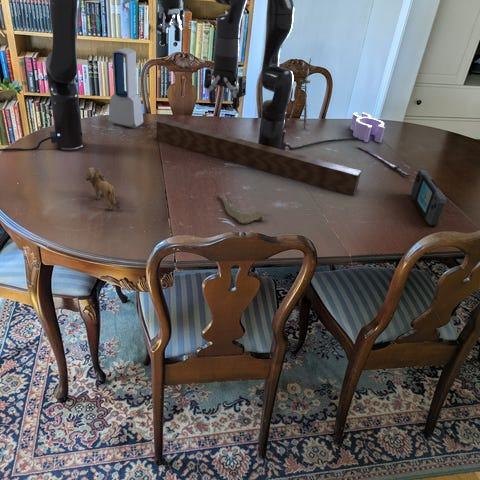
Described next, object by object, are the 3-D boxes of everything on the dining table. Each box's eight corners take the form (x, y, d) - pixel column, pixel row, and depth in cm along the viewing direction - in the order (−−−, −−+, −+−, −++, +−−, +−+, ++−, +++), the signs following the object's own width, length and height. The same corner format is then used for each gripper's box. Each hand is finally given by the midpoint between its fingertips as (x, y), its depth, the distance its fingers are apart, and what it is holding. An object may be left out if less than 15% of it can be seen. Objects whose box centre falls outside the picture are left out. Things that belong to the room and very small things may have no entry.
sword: (412, 176, 179) (413, 173, 178) (406, 177, 178) (407, 174, 177) (361, 148, 202) (362, 145, 201) (356, 149, 201) (356, 146, 200)
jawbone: (251, 231, 136) (251, 225, 134) (200, 206, 146) (200, 200, 145) (270, 218, 141) (270, 213, 140) (219, 195, 152) (219, 189, 150)
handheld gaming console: (409, 194, 166) (417, 168, 160) (416, 194, 166) (425, 168, 160) (428, 227, 146) (439, 199, 141) (437, 228, 147) (448, 200, 141)
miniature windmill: (304, 129, 213) (316, 61, 197) (286, 126, 214) (297, 58, 198) (306, 123, 221) (318, 57, 205) (288, 120, 222) (299, 54, 206)
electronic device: (143, 124, 200) (142, 50, 183) (134, 129, 194) (132, 53, 177) (118, 119, 203) (114, 45, 186) (108, 124, 196) (104, 48, 180)
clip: (343, 126, 223) (346, 112, 219) (367, 127, 225) (371, 113, 221) (360, 142, 206) (364, 127, 202) (386, 142, 209) (390, 127, 205)
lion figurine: (83, 195, 144) (80, 168, 139) (97, 189, 147) (95, 163, 142) (112, 213, 136) (111, 185, 131) (127, 207, 140) (126, 180, 135)
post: (356, 190, 164) (361, 171, 160) (352, 195, 161) (357, 175, 157) (163, 136, 191) (163, 118, 187) (156, 139, 187) (156, 121, 183)
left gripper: (173, -11, 166) (173, 38, 174) (150, -9, 154) (150, 43, 163) (191, -8, 163) (190, 42, 172) (169, -6, 152) (168, 47, 161)
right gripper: (253, 55, 141) (248, 108, 150) (214, 46, 147) (212, 98, 156) (240, 59, 136) (236, 113, 145) (200, 50, 141) (198, 103, 150)
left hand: (171, 42), depth 168 cm, fingers open, 8 cm apart
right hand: (223, 105), depth 150 cm, fingers open, 8 cm apart
